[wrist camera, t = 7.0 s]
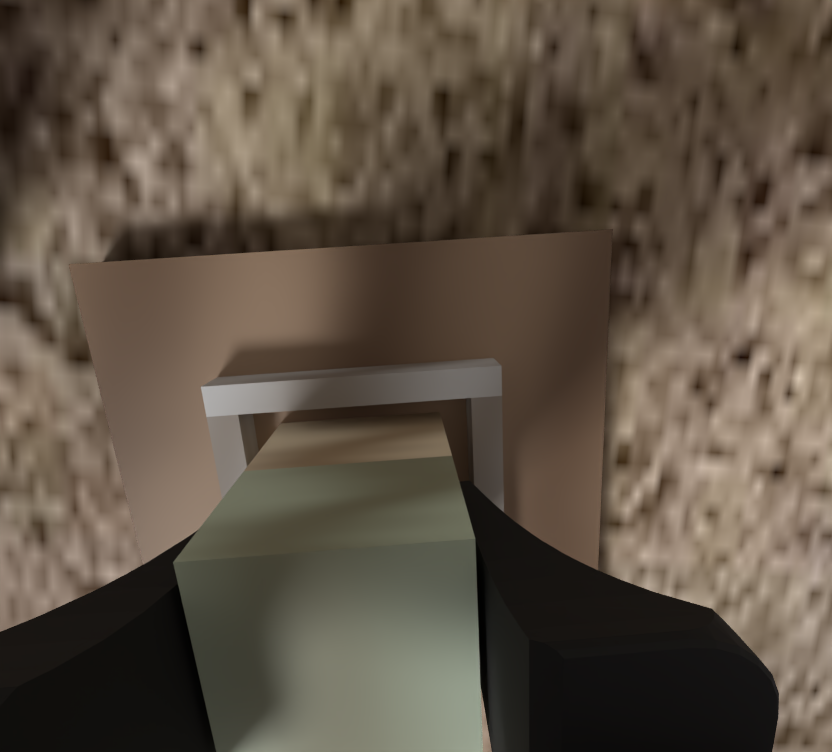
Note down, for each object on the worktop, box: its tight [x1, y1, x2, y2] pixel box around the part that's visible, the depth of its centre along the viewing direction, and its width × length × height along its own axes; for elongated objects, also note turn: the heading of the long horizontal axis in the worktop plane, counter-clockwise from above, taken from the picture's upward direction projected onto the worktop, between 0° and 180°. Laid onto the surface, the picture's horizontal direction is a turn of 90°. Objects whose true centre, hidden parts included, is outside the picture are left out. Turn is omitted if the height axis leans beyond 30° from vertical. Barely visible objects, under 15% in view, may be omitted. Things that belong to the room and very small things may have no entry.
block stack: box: [173, 412, 483, 752], centre depth 10 cm, size 4×4×6 cm
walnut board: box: [69, 229, 613, 570], centre depth 13 cm, size 14×14×2 cm
